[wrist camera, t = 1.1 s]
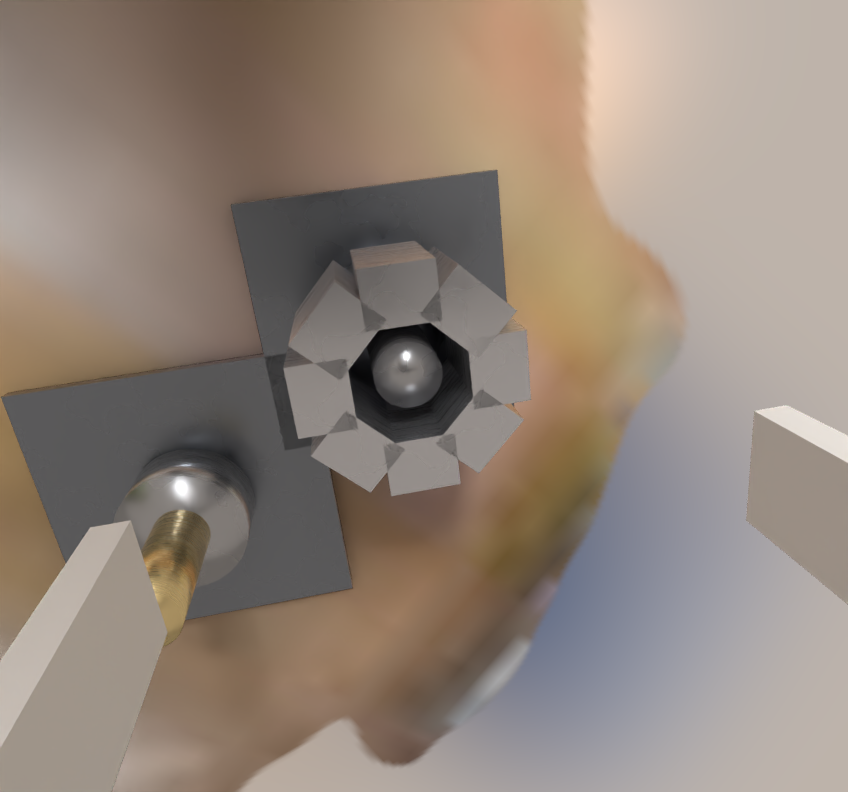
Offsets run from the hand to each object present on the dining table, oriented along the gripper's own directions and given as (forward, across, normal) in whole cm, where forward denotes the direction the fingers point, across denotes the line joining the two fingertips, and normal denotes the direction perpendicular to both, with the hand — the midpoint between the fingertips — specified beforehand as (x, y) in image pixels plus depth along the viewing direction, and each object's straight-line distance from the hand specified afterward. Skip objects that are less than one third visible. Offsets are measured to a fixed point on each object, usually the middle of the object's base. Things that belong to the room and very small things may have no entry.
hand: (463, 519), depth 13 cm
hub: (+19, -11, -8) cm, 23 cm away
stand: (+19, 0, 0) cm, 19 cm away
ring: (+13, 0, 0) cm, 13 cm away
